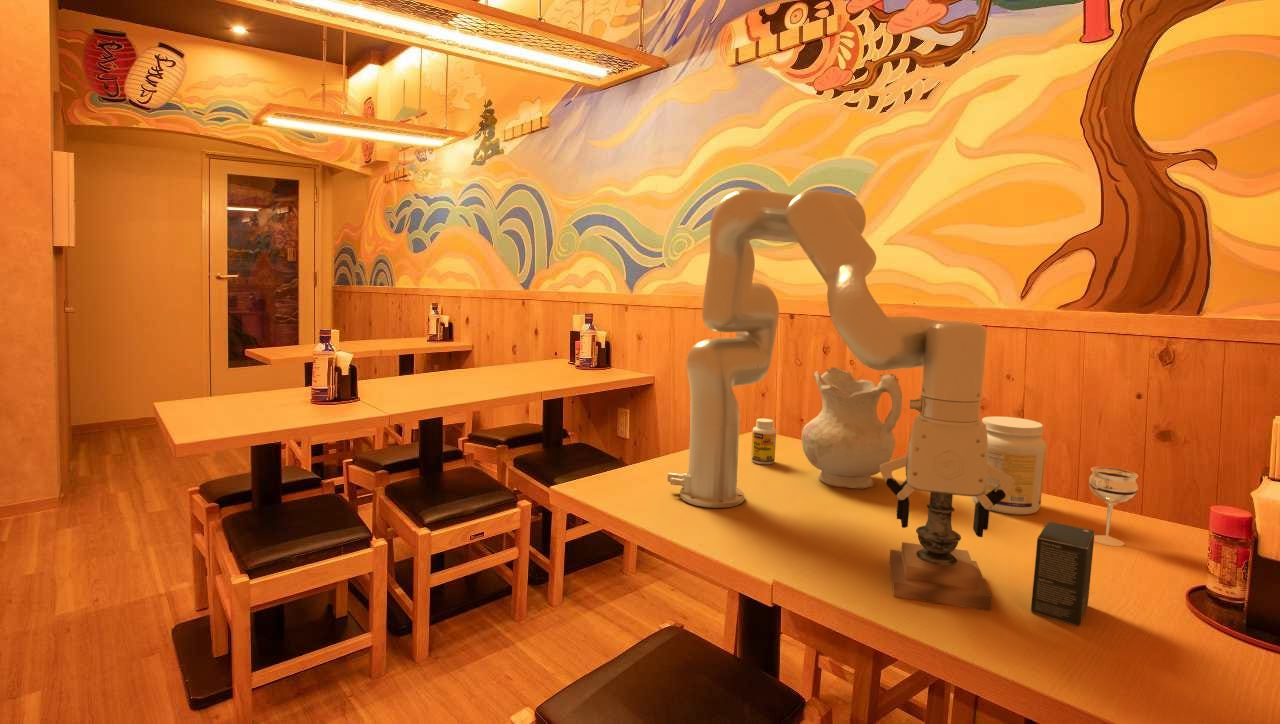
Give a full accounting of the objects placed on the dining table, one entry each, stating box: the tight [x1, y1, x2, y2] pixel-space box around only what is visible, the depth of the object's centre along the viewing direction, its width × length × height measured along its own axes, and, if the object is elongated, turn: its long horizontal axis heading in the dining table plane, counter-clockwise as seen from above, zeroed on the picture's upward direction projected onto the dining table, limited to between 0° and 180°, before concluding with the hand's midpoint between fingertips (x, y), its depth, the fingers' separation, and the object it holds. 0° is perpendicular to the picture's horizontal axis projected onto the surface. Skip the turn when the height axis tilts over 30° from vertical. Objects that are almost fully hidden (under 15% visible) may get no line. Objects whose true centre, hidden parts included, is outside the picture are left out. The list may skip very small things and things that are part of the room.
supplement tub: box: [970, 416, 1047, 516], centre depth 130 cm, size 12×12×17 cm
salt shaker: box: [915, 492, 962, 565], centre depth 94 cm, size 6×6×12 cm
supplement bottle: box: [750, 418, 777, 466], centre depth 158 cm, size 6×6×10 cm
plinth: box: [888, 541, 993, 612], centre depth 95 cm, size 12×12×4 cm
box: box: [1030, 521, 1095, 627], centre depth 89 cm, size 8×6×11 cm
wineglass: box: [1088, 466, 1139, 547], centre depth 113 cm, size 7×7×12 cm
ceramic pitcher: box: [801, 366, 903, 490], centre depth 143 cm, size 22×20×25 cm
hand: (940, 529), depth 95 cm, fingers open, 9 cm apart
